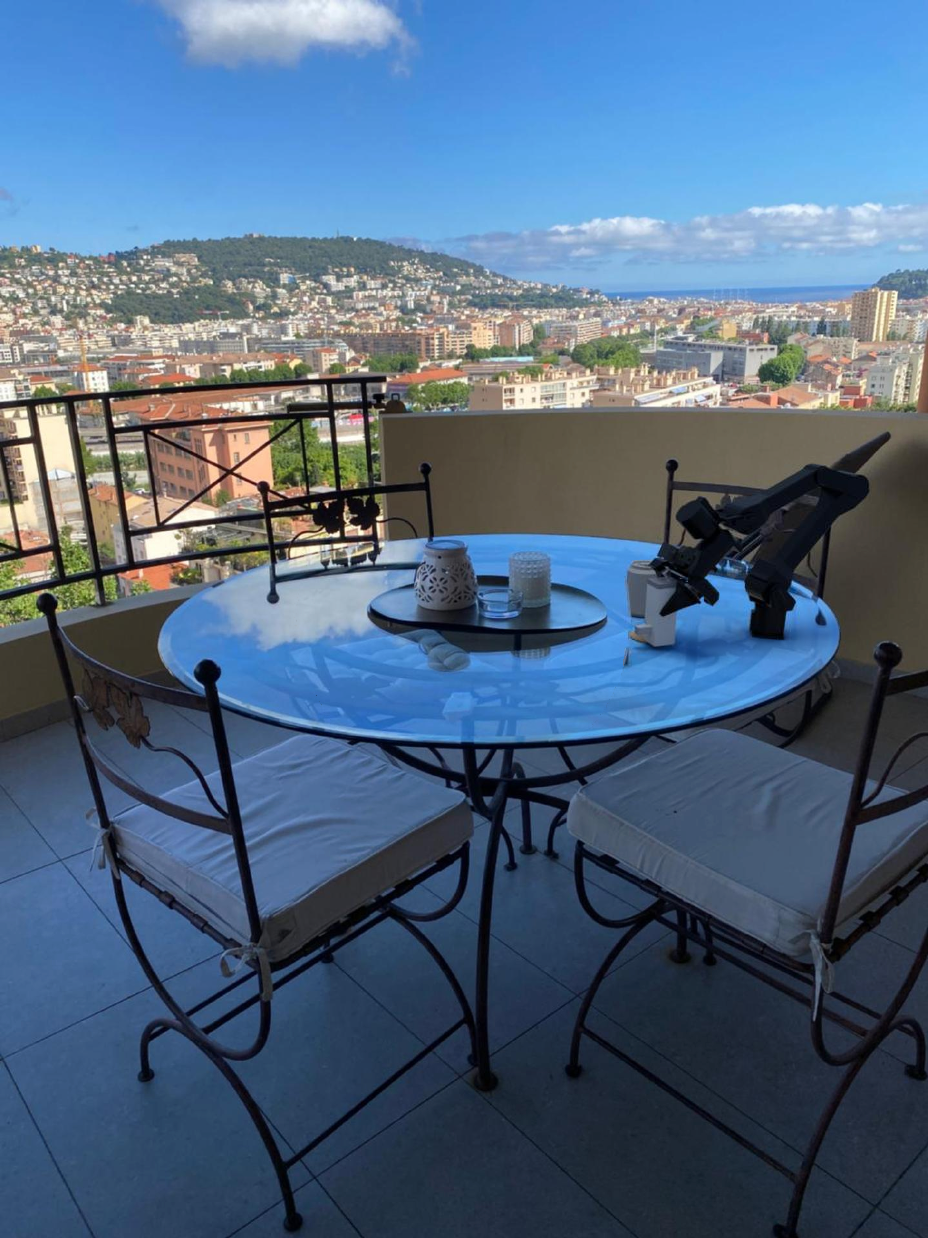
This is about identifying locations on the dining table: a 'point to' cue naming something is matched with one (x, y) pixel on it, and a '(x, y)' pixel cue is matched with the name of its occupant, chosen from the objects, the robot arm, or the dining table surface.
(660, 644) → the adapter
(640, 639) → the coaster
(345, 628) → the dining table surface
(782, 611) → the robot arm
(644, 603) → the can
